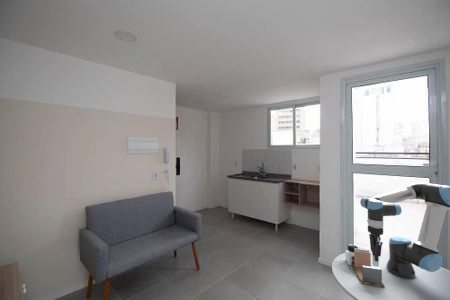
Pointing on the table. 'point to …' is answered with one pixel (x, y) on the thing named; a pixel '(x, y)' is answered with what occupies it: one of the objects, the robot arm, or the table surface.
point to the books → (362, 257)
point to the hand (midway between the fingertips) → (375, 265)
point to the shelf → (359, 274)
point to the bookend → (372, 274)
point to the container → (350, 254)
